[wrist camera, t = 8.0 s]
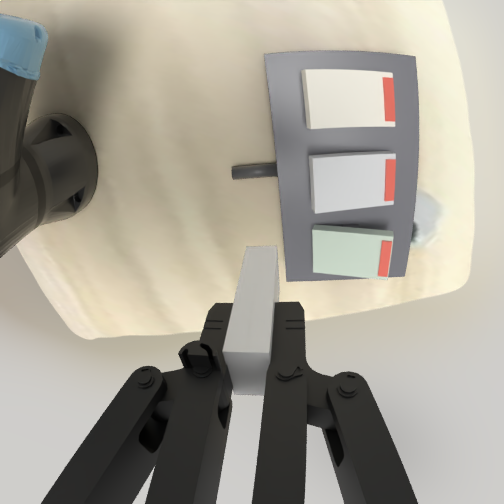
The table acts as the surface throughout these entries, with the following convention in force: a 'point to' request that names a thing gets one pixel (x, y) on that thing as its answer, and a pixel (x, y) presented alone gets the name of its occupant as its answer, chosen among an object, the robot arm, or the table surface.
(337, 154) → the grey rocker
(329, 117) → the cream rocker
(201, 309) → the table surface
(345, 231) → the sage rocker
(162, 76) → the table surface
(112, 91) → the table surface
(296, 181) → the rocker switch panel
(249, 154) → the table surface
